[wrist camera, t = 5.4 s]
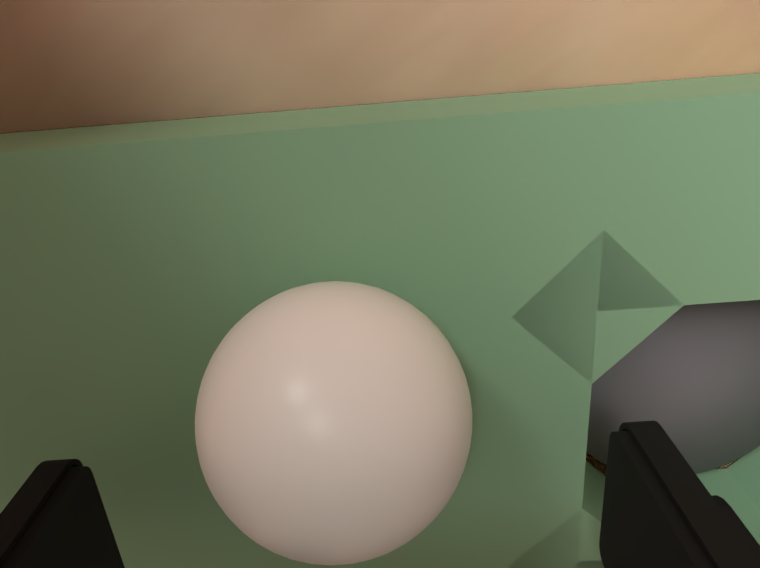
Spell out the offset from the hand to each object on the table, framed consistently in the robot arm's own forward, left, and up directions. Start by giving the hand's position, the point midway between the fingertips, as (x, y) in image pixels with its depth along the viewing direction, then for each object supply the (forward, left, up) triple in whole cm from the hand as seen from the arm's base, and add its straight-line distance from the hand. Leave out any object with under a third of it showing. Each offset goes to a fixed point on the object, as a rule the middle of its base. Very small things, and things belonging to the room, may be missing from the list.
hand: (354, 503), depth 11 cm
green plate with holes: (0, +1, -4) cm, 4 cm away
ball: (-4, -1, 0) cm, 4 cm away
